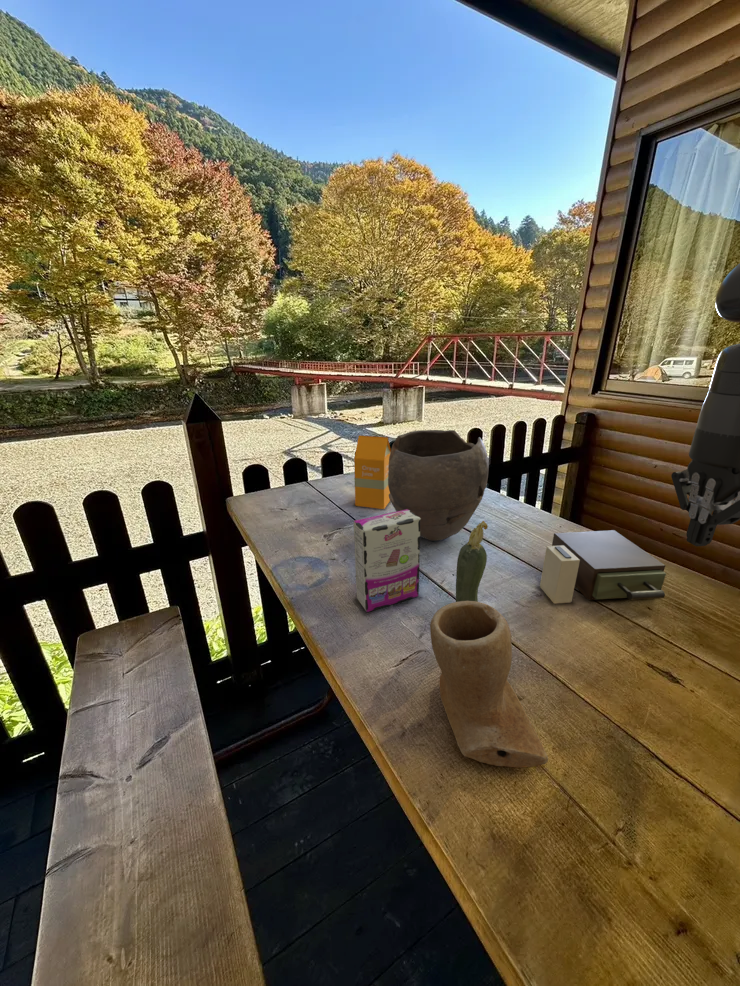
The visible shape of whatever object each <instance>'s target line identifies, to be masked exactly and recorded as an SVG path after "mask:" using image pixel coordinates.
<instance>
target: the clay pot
mask: <svg viewBox="0 0 740 986" xmlns="http://www.w3.org/2000/svg"><path fill="white" fill-rule="evenodd" d="M485 445H486V444H485V443H484V442H483V440H482V438H481V437H480V436H479V437H478V438H477V442H476V444H475V443H472V442H467V441H466V440H465V439H464V438H462V436H461V435H460V434H459V433H458V432H456V430H453V429H449V430H443V429H442V430H441V429H427V430H426V429H423V430H422V429H421V430H420V429H419V430H412V431H409V432H406V433H403V434H399V435H396V438H395V440H394V442H393V443H392V445H391V447H390V449H391V453H390V457H389V466H388V470H389V472H388V487H389V491H390V494H389V499H390V503H391V505H392V507H393V509H394V510H395V512H397V511H402V510H406V509H408V510H410V511H411V512H412V513H414V514H415V515H417V516H418V517H420V518H421V519H420V538H423V539H425V540H428V541H430V542H433V541H436V542H437V541H442V540H446V539H448V538H450V537H452V536H455V535H457V534H458V533H460V532H461V531H462V530H463V528H464V527H466V526H467V524H468V523H469V522H470V519H471V518H472V517H473V515H474V514H475V512H476V511H477V508H478V507H479V506H480V504H481V502H482V500H483V498H484V494H485V490H486V488H487V486H488V485H487V484H488V478H489V472H490V471H489V468H490V466H489V465H490V463H489V457H488V452H487V449H486V446H485Z"/></svg>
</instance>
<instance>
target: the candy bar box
mask: <svg viewBox="0 0 740 986" xmlns="http://www.w3.org/2000/svg"><path fill="white" fill-rule="evenodd" d="M420 519H421V518H420V517H418V516H417V515H415V514H414V513H412V512H411V511H410V510H408V509H406V510H402V511H397V512H396V511H392V512H388V513H383V514H379V515H374V516H369V517H364V518H361V519H356V520H353V537H354V538H353V539H354V562H355V564H354V567H355V590H356V600H357V601H358V603H359V604H360V605H361V606H362V608H363V609H364V611H365V612H366V613H370V612H372V611H376V610H379V609H383V608H385V607H388V606H391V605H394V604H395V605H396V604H397V603H402V602H404V601H407V600H410V599H413V598H417V597H419V595H420V594H419V593H420V557H421V556H420V555H421V554H420V553H421V536H420Z"/></svg>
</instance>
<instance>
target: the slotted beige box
mask: <svg viewBox="0 0 740 986" xmlns="http://www.w3.org/2000/svg"><path fill="white" fill-rule="evenodd" d="M545 547H546V548H545V553H544V559H543V566H542V571H541V577H540V584H539V588H540V589H541V590H542V592H544V594H546V596H547V597H548V598H549V600H550V601H551V602H552V603H553V604H570V603H572V602H573V597H574V591H575V588H576V587H575V582H576V577H577V572H578V567H579V562H580V560H579V559H578V558H577V557H576V556H575V555H574V554H573V553H572V552H570V551H569V550H568V549H567V548H566V547H565V546H564V545H561V546H552V545H546V546H545Z"/></svg>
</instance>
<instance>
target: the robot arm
mask: <svg viewBox="0 0 740 986" xmlns="http://www.w3.org/2000/svg"><path fill="white" fill-rule="evenodd" d="M714 303H715V309H716V312H717V314H718V315H719V316H720V317H721V318H722V319H723V320H726V321H728V322H731V323H738V324H740V263H738V264H737V265H736V266H735V267H733V269H732V270H731V271H730V272H728V274H727V275H725V277H724V278H723V281H722V282H721V284H720V285H719V287H718V289H717V292H716V294H715V302H714ZM688 457H689V458H690V459H691V461H690V462H689V463H688V465H687V468H686V469H684V470H681V471H674V472H673V471H672V473H671V475H670V476H671V480H672V483H673V487H674V490H675V493H676V496H677V501H678V504H679V507H680V509H681V510H683V511H686V512H688V517H689V519H690V520H689V523H688V525H687V526H688V527H687V530H686V533H685V534H686V542H688V543H689V544H691V545H692V546H694V547H706V546H707V545H709V544H711V543H712V541H713V538H714V534H715V531H716V529H717V526H722V525H734V524H735V523H737V522H739V521H740V343H736V344H731V345H729V346H726V347H724V348H723V349H722V350H721V351H720V353H719V355H718V357H717V360H716V363H715V367H714V370H713V374H712V377H711V380H710V384H709V387H708V392H707V395H706V397H705V399H704V402H703V403H702V406H701V408H700V412H699V415H698V419H697V424H696V427H695V430H694V434H693V438H692V441H691V445H690V448H689V452H688Z"/></svg>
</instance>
